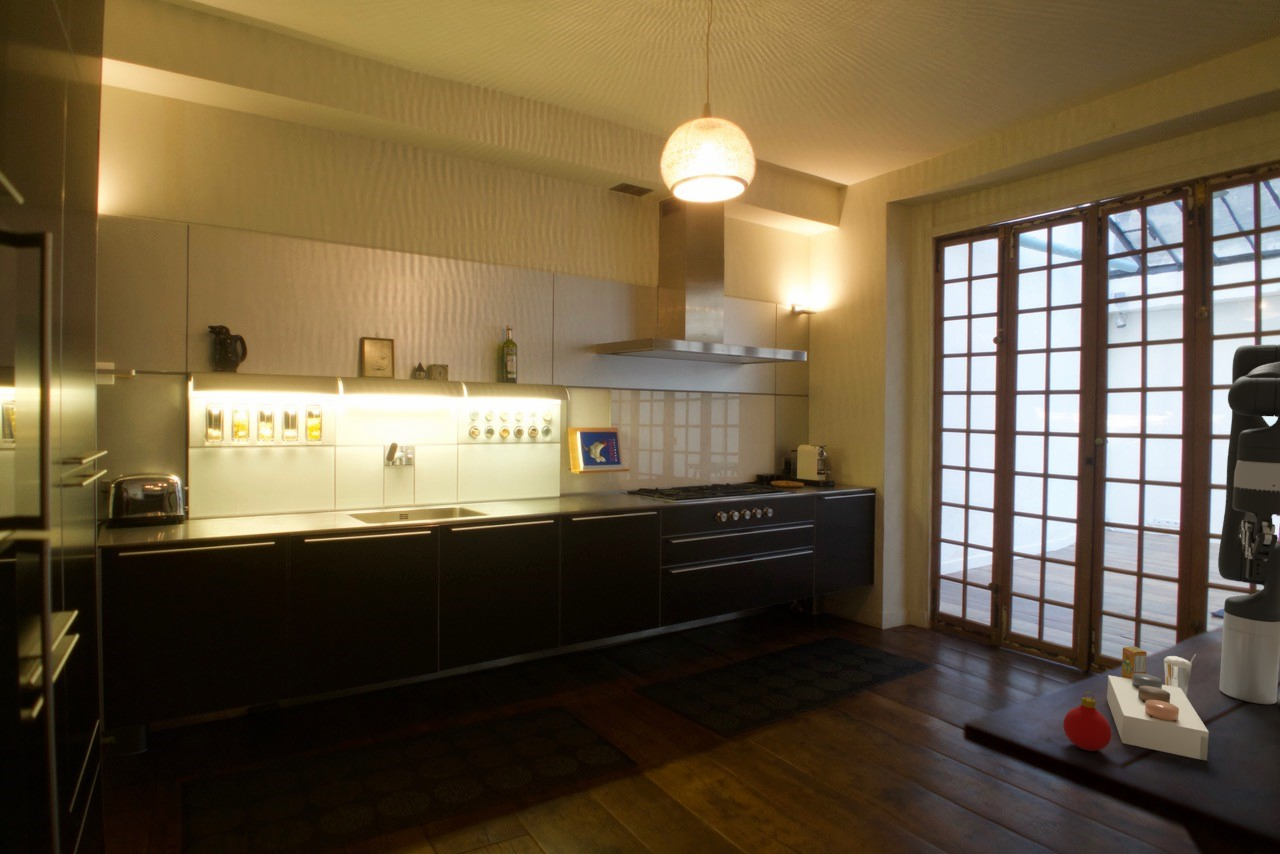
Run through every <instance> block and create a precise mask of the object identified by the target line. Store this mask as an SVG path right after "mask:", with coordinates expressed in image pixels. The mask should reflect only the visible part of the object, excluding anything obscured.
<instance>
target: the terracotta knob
mask: <svg viewBox="0 0 1280 854" xmlns="http://www.w3.org/2000/svg"><path fill="white" fill-rule="evenodd" d="M1145 712H1146V713H1148V714H1149V716H1150V717H1151V718H1156V719H1161V720H1166V721H1171V722H1174V720H1178V717H1179V708H1178V707H1176V706H1175V705H1173V704H1170V703H1167V702H1163V701H1159V700H1147V701H1146V702H1145Z"/></svg>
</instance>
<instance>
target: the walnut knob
mask: <svg viewBox="0 0 1280 854" xmlns="http://www.w3.org/2000/svg"><path fill="white" fill-rule="evenodd" d="M1138 697H1139V698H1140V699H1142V701H1143V702H1146V701H1147V700H1159V701H1163V702H1167V703H1170V693H1169V692H1167V691H1165V690H1163V689H1160V688H1156V687H1151V686H1140V687H1139V690H1138Z"/></svg>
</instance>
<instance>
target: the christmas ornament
mask: <svg viewBox="0 0 1280 854" xmlns="http://www.w3.org/2000/svg"><path fill="white" fill-rule="evenodd" d="M1089 693H1090V694H1091V696H1092V697H1086V695H1088V694H1089ZM1096 702H1097V701H1096V700H1095V699H1094V694H1093V692H1090V691H1087V692H1085V693H1084V696H1083V697H1081V704H1080V705H1079V706H1077V707H1074V708H1071V709H1070V710H1069V711H1068V712H1067V713H1066V714H1065V716H1064V719H1063V730H1064V732H1065V735H1066V737H1067V738H1068V739H1069V741H1070V742H1071V743H1072V744H1073V745H1075V746H1076V747H1077V748H1079V749H1082V750H1084V751H1090V752H1095V751H1096V752H1097V751H1101V750H1103V749H1104V748H1106V747H1107V746H1108V745H1109V743H1110V742H1111V739H1112V728H1111V726H1110V723H1109V721H1108V720H1107V718H1106V717H1105V715H1103V714H1102V713H1101V712H1100V711H1099V710H1097V709H1096V708H1097V707H1096Z"/></svg>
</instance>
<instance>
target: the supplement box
mask: <svg viewBox="0 0 1280 854" xmlns="http://www.w3.org/2000/svg"><path fill="white" fill-rule="evenodd" d="M1147 654H1148V652H1147V651H1146V650H1143V649H1141V648H1139V647H1138V646H1123V647H1122V659H1121V677H1122V678H1127V679H1132V675H1133V674H1134V673H1142V674H1147Z"/></svg>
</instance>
